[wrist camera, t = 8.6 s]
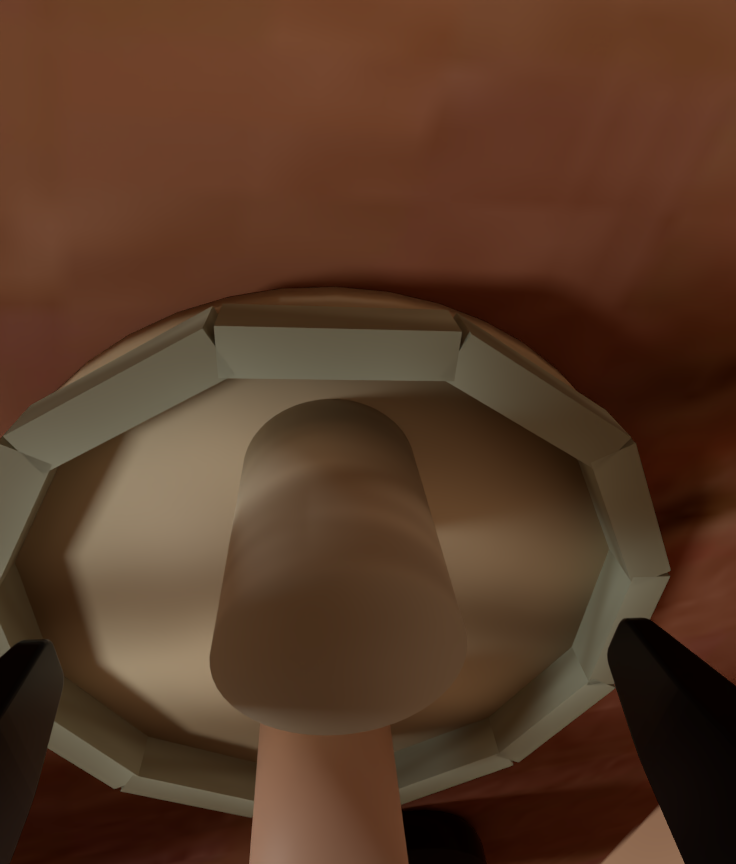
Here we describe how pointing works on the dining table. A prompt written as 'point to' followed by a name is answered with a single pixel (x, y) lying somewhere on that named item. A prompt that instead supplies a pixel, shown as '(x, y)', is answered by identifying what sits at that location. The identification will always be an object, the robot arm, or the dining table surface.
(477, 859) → the supplement bottle
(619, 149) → the dining table surface
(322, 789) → the terracotta bead
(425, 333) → the ring dish
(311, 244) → the dining table surface
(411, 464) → the maple bead
